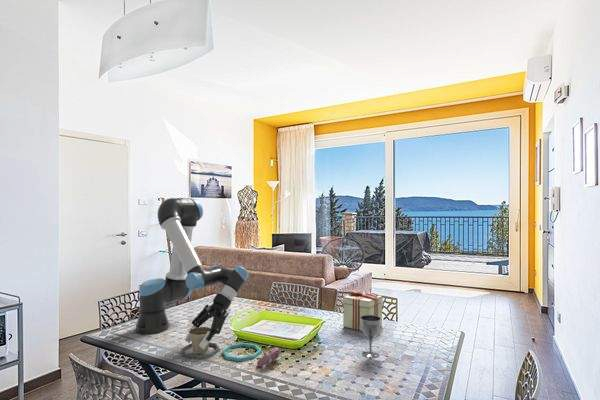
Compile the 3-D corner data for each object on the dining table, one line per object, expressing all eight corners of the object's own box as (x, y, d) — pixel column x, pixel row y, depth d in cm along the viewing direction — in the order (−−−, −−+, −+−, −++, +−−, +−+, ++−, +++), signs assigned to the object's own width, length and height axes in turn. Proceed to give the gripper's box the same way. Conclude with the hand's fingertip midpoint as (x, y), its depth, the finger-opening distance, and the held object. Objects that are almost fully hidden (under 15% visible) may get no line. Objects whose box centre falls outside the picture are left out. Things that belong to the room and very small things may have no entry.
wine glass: (368, 360, 146) (368, 322, 146) (356, 352, 153) (356, 316, 153) (384, 356, 150) (384, 319, 150) (372, 349, 157) (372, 313, 157)
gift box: (385, 323, 190) (385, 289, 190) (371, 334, 175) (371, 297, 175) (354, 317, 199) (354, 285, 199) (339, 327, 184) (339, 292, 184)
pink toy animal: (263, 372, 138) (270, 358, 137) (255, 364, 141) (261, 350, 139) (278, 363, 147) (285, 348, 145) (270, 355, 149) (276, 341, 147)
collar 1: (179, 348, 158) (179, 345, 158) (214, 342, 164) (214, 339, 164) (184, 361, 144) (184, 358, 144) (222, 354, 151) (222, 351, 151)
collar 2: (219, 349, 156) (219, 346, 156) (253, 343, 162) (253, 341, 162) (228, 363, 143) (228, 360, 143) (264, 356, 149) (264, 353, 149)
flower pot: (205, 357, 149) (205, 335, 149) (184, 355, 151) (184, 333, 151) (215, 348, 158) (215, 327, 158) (195, 346, 160) (195, 326, 160)
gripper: (246, 307, 159) (216, 355, 147) (214, 298, 173) (184, 342, 161) (236, 297, 155) (205, 346, 143) (204, 289, 169) (173, 333, 157)
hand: (194, 344), depth 152 cm, fingers closed on flower pot, 9 cm apart
